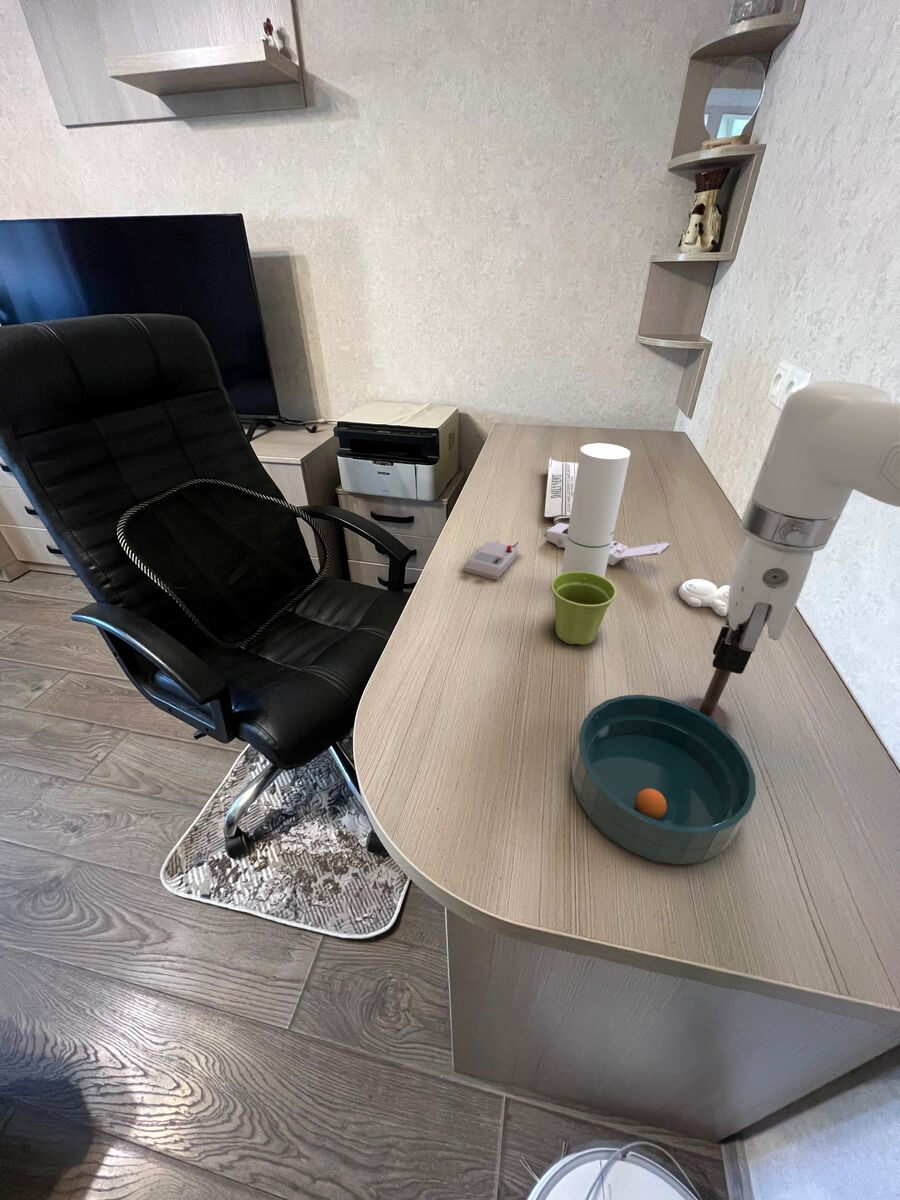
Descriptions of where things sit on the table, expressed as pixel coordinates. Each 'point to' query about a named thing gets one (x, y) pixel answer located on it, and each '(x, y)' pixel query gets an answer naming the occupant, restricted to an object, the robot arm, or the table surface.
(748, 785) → the bowl
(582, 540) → the cylindrical container
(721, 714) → the stirring stick
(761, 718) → the table surface
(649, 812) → the ball
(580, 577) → the plant pot
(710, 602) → the white toy figurine
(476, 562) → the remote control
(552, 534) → the mobile phone
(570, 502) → the newspaper
